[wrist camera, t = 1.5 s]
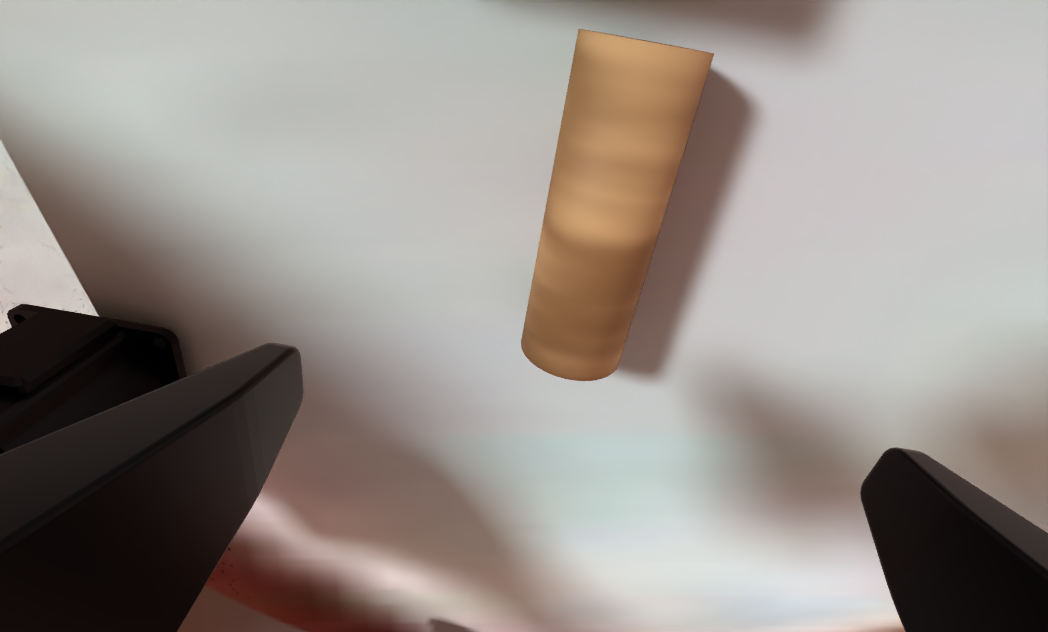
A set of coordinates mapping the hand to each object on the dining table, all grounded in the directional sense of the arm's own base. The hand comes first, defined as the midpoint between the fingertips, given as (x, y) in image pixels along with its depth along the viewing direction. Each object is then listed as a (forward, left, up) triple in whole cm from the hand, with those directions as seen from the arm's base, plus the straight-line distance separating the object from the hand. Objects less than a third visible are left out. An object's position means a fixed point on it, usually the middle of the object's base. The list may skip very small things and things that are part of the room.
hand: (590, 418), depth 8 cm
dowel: (0, 0, -11) cm, 11 cm away
